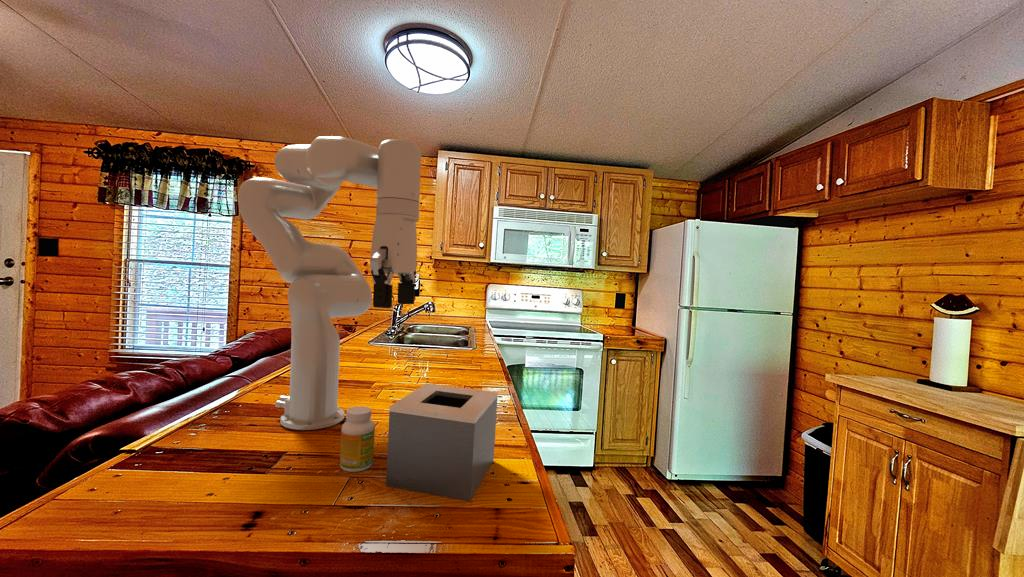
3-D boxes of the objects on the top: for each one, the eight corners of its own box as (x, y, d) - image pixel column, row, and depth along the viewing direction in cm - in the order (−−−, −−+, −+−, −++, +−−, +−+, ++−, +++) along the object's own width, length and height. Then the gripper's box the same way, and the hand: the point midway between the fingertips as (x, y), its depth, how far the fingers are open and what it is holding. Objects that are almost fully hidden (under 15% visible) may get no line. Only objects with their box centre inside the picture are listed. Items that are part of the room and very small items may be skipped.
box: (385, 485, 66) (389, 406, 66) (422, 449, 80) (426, 383, 79) (470, 501, 64) (475, 418, 63) (493, 460, 77) (497, 392, 77)
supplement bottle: (362, 475, 69) (364, 417, 69) (333, 470, 70) (335, 413, 70) (378, 460, 75) (381, 407, 74) (351, 456, 76) (353, 403, 75)
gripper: (398, 217, 85) (395, 301, 86) (353, 203, 68) (350, 308, 69) (434, 218, 84) (430, 303, 85) (397, 204, 67) (393, 310, 68)
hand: (394, 305), depth 77 cm, fingers open, 9 cm apart
